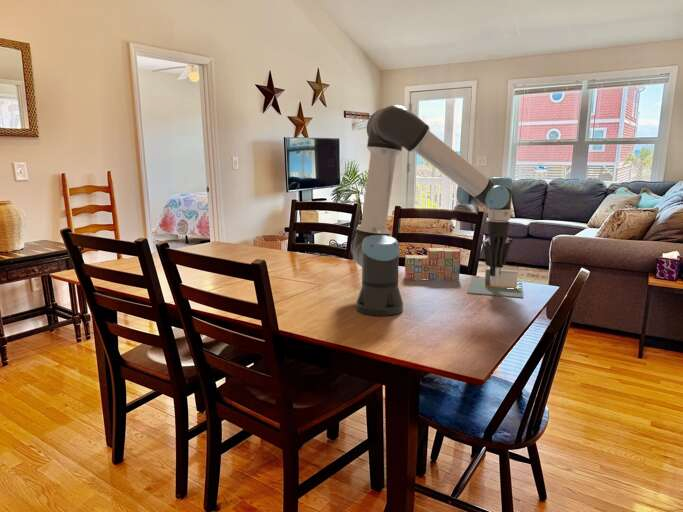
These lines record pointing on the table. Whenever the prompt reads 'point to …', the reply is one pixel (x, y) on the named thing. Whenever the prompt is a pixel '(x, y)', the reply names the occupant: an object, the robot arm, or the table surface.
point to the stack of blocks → (434, 265)
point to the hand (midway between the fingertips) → (494, 284)
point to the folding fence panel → (503, 278)
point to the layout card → (493, 289)
